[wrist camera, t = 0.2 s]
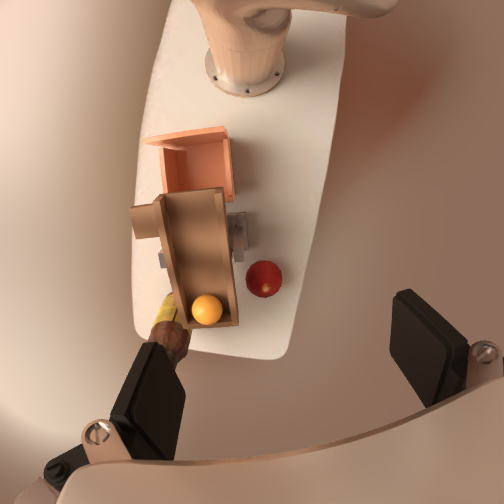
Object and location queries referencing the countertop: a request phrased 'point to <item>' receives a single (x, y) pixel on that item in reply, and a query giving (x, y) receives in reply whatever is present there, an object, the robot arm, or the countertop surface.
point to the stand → (230, 237)
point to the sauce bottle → (171, 331)
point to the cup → (195, 160)
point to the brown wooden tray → (193, 249)
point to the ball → (207, 309)
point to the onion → (263, 279)
